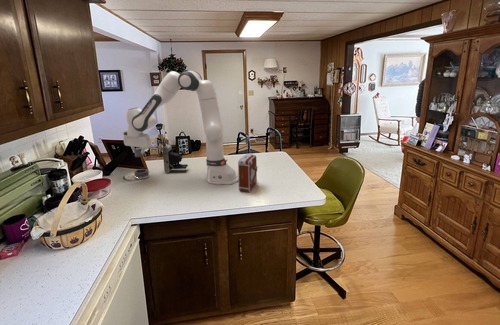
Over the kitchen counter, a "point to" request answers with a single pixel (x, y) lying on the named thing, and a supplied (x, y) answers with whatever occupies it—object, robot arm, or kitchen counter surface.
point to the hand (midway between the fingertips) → (138, 153)
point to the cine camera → (247, 172)
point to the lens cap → (138, 152)
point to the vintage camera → (172, 159)
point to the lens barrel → (142, 173)
